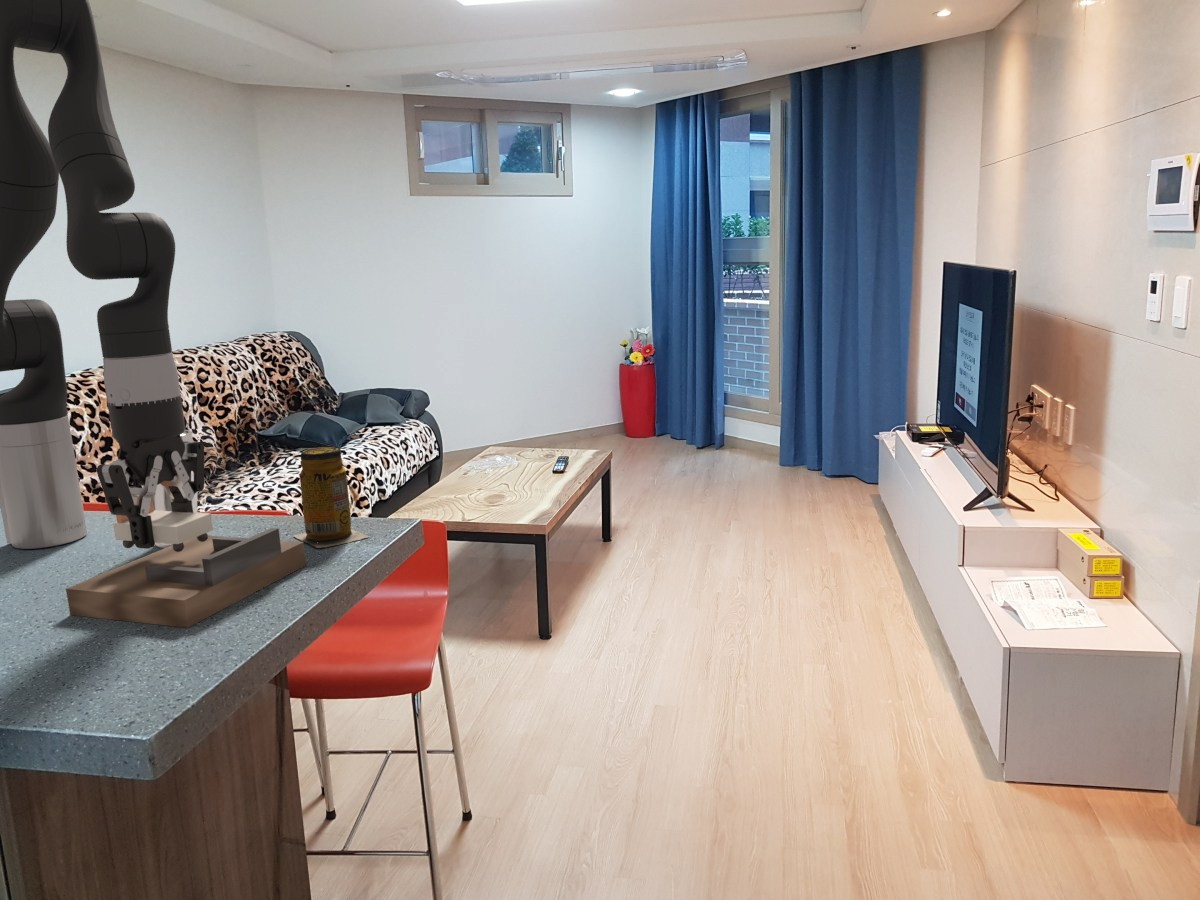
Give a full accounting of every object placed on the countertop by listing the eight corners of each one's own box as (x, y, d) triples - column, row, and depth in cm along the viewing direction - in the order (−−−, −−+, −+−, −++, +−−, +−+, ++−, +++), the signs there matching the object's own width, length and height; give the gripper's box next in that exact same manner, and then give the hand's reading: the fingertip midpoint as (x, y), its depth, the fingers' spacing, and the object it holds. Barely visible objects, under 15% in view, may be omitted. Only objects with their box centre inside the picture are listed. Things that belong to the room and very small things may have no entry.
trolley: (117, 549, 108) (109, 502, 107) (153, 535, 113) (146, 490, 112) (179, 554, 105) (173, 506, 104) (214, 539, 110) (208, 493, 109)
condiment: (343, 526, 132) (334, 442, 130) (369, 538, 126) (361, 450, 124) (292, 537, 128) (282, 451, 125) (317, 550, 122) (307, 460, 119)
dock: (70, 614, 102) (61, 562, 101) (201, 557, 121) (195, 512, 119) (188, 627, 97) (180, 572, 96) (306, 565, 116) (300, 518, 114)
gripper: (165, 386, 113) (184, 520, 117) (64, 405, 100) (89, 557, 103) (215, 386, 111) (234, 523, 114) (119, 406, 98) (143, 561, 101)
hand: (165, 538), depth 109 cm, fingers closed on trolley, 5 cm apart
